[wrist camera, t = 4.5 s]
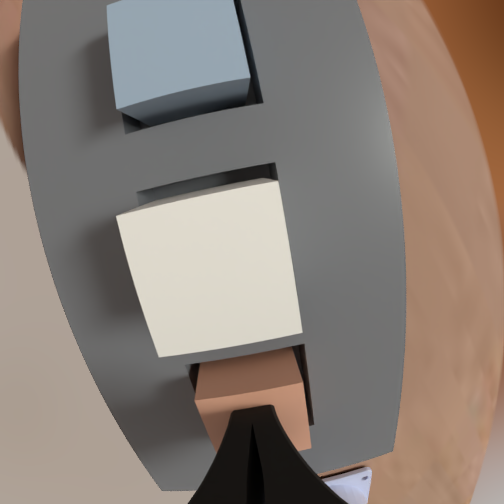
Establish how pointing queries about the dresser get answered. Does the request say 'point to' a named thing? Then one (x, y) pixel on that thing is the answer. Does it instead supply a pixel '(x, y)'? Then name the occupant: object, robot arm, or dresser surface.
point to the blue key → (176, 58)
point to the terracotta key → (253, 392)
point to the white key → (213, 267)
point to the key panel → (217, 174)
